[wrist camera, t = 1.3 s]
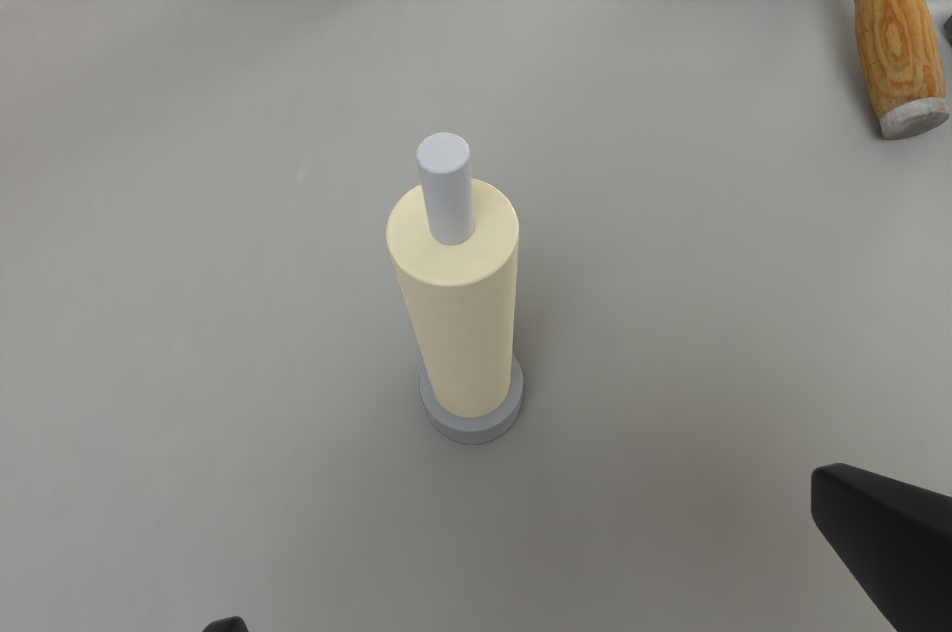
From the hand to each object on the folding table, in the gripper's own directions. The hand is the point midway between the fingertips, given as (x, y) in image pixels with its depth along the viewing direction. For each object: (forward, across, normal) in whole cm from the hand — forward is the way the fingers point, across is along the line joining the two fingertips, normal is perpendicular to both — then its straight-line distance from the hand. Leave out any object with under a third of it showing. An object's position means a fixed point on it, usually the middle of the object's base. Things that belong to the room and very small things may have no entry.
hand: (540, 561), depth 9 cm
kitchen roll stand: (+14, 0, +4) cm, 15 cm away
